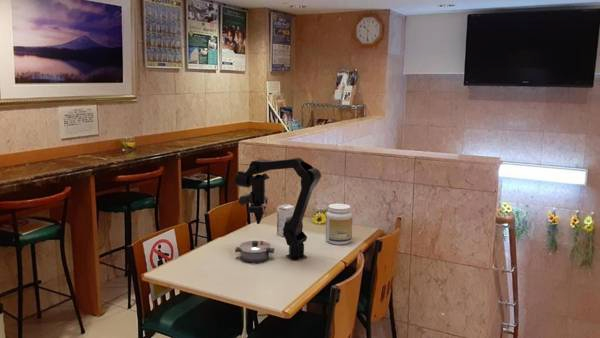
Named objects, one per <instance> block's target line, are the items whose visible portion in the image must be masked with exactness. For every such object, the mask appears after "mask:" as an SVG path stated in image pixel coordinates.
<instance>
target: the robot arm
mask: <svg viewBox="0 0 600 338" xmlns="http://www.w3.org/2000/svg"><path fill="white" fill-rule="evenodd" d="M284 169H293V170H294V171H295V173H296V175H297V176H298V177H299V178H301V179H300V187H301V189H300V192H299V195H298V198H297V199H296V204H295V207H294V213H293V216H292V218H291V219H290V220H288V221H286V222H285V225H284V228H283V236H284V237H283V236H282V237H283V238H284V239H285V242H286V245H287V246H288V254H286V255H285V256H286V257H287V258H289V259H291V260H293V261H298V260H301V259H306V258H308V256H307V255H305V242H306V241H307V239H308V236H307V235H306V234H305V232H304V231H303V228H304V225H303V220H304V217H305V214H306V210H307V207H308V205H309V201H310V198H311V195H312V193H313V190H314V189H315V188H316V187H317V185H318V184H319V182H320V180H321V177H322V173H321V172H320V170H319V169H318V168H315V167H313V166H312V165H311V164H309V163H307V162H306V161H304V160H303V159H302V158H300V157H294V158H286V159H276V160H270V159H262V158H261V159H256V160H252V161H251V162H250V163H249V167H248V168H247V170H246V171H243V170H238V171H237V175H236V176H235V179H234V184H235V186H236V187H240V188H251V191H250V192H249V193H247V194H245V195H242V196H241V195H240V196H239V197H238V204H239V205H240V207H242V206H244V205H247V204H250V205H249V206H248V207H247V213H249V214H254V217H255V222H256V224H257V225H259V224H261V221H262V218H263V216H264V213H265V211H266V208H267V206H266V205H268V202H269V201H268V200H269V198H267V196H266V193H267V191H266V180H269V179H270V176H269V175H267V173H264V172H268V171H272V170H273V171H274V170H276V171H277V170H284ZM261 173H262V174H261ZM264 205H265V206H264Z"/></svg>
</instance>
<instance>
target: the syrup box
mask: <svg viewBox="0 0 600 338" xmlns="http://www.w3.org/2000/svg"><path fill="white" fill-rule="evenodd" d="M294 210H295V207H294V205H292V204H285V203H284V204H282V205H279V206H277V210H276V211H277V212H276V213H277V215H276V217H277V219H276V222H277V223H276V236H279V237H280V236H281V237H283V238H285V237H284V236H283V228H284V225H285V222H286V221H288V220H290V219H291V218H292V216H293V213H294Z"/></svg>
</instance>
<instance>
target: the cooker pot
mask: <svg viewBox="0 0 600 338" xmlns="http://www.w3.org/2000/svg"><path fill="white" fill-rule="evenodd" d="M235 253H240V260H241V261H242V262H243V263H247V264H261V263H262V264H263V263H265V262H268V261H269V260H270V254H274V253H275V247H273V248H272V247H270V249H269V250H268V251H265V252H261V253H248V252H244V251H242V250H240V246H239V247H238V246H236V248H235Z"/></svg>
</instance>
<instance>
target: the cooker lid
mask: <svg viewBox="0 0 600 338" xmlns="http://www.w3.org/2000/svg"><path fill="white" fill-rule="evenodd" d="M239 247H240V250H242V251H244V252H248V253H261V252H265V251H268V250H269V249H270V248H271V244H270V243H269V242H268V241H264V240H247V241H244V242H242V243H240V245H239Z"/></svg>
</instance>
